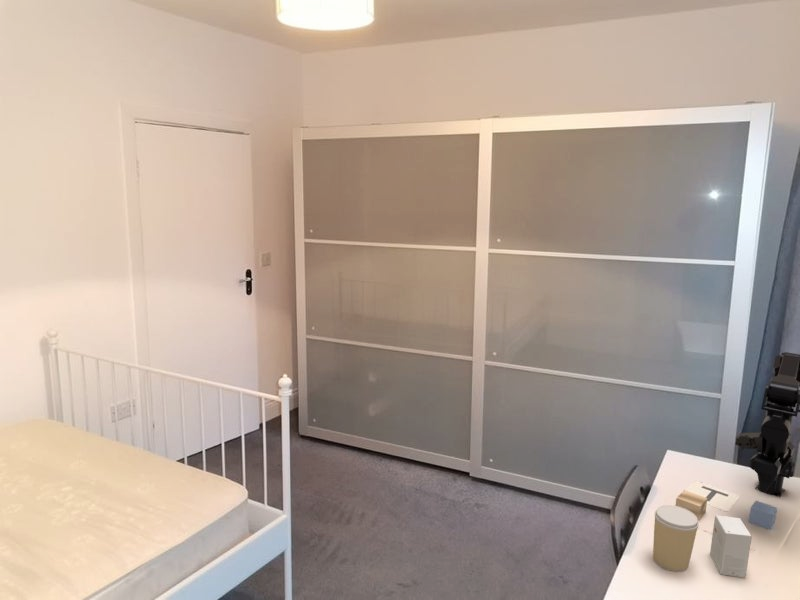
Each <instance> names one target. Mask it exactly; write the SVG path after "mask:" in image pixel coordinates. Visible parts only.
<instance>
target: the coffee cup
mask: <svg viewBox="0 0 800 600" xmlns="http://www.w3.org/2000/svg"><path fill="white" fill-rule="evenodd" d="M653 527H654V529H653V544H652V545H653V547H652V548H653V549H652V558H653V561H654V562H655V563H656V564H657V565H658V566H659V567H661V568H663V569H665V570H668V571H672V572H684V570H685V571H687V570H688V569H689V566H690V563H691V558H692V553H693V548H694V544H695V539H696V535H697V532H698V528H699V521H698V519H697V517H696V516H695V515H694V514H693V513H692V512H690V511H689V510H687V509H684V508H681V507H678V506H675V505H672V504H663V505H661V506H658V507H657V508H656V510H655V511H654V526H653Z"/></svg>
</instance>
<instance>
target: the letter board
mask: <svg viewBox="0 0 800 600" xmlns="http://www.w3.org/2000/svg"><path fill="white" fill-rule="evenodd" d="M686 491H688V492H691V493H694V494H697V495H700V496H703V497H706V498H707V505H706V506H711V507H713V508H716V509H718V510H720V511H721V510H722V511H724V512H726V513H727V512H729V510H730V509H732V507H733V506H734V505H735V503H736V502H737V501H738V500H739V498H740V497H741V495H738V494H735V493H733V492H730V491H727V490H724V489H721V488H718V487H715V486H713V485H709V484H708V483H703V482H701V481H697V480H695V481H694V482H693V483H692V484H691V485H690V486H689V487H688V488H687V489H686Z"/></svg>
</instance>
